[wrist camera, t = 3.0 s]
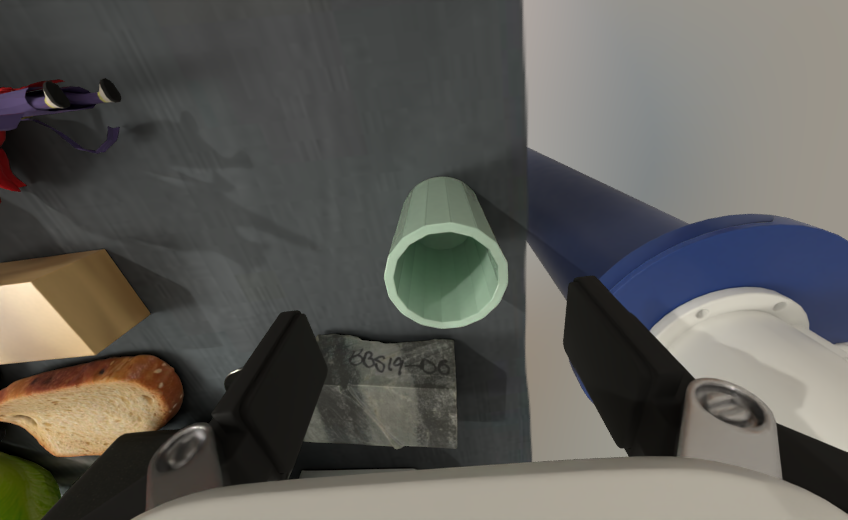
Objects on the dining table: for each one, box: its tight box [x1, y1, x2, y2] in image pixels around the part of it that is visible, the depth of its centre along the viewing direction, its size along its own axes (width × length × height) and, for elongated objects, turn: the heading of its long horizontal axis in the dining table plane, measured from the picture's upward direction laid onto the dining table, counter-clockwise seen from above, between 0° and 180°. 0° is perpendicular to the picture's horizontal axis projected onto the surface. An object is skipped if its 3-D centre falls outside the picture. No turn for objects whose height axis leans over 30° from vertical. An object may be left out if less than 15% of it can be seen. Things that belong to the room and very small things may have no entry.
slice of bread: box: [0, 355, 184, 457], centre depth 30 cm, size 18×18×4 cm
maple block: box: [0, 249, 151, 365], centre depth 24 cm, size 10×7×5 cm, turn 99°
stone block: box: [303, 334, 457, 449], centre depth 27 cm, size 9×14×5 cm, turn 92°
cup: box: [384, 177, 508, 329], centre depth 18 cm, size 6×6×9 cm
